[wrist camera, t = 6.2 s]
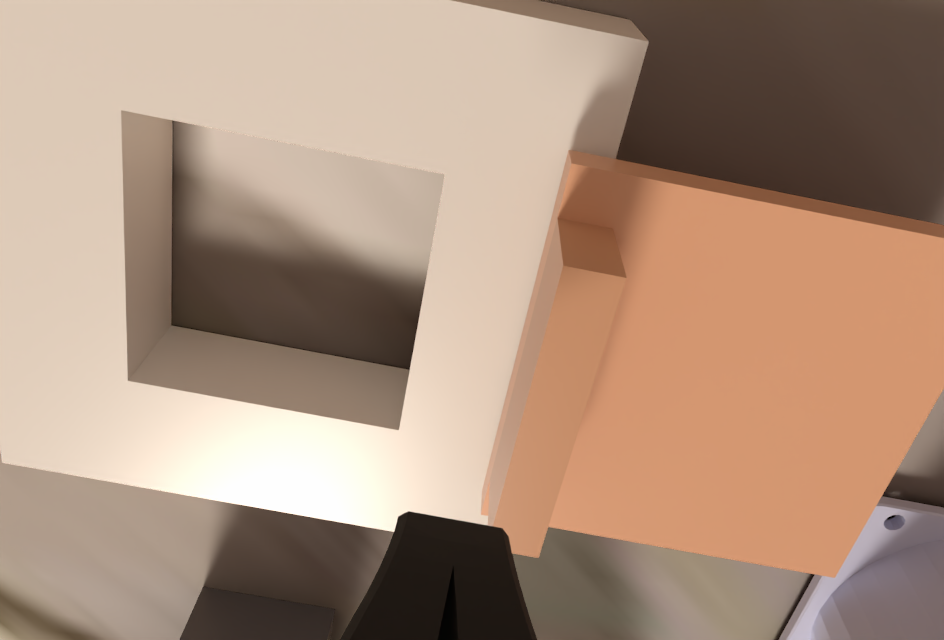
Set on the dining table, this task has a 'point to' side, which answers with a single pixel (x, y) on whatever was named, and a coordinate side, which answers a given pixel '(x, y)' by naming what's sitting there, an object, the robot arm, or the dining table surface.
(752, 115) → the dining table surface
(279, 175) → the dining table surface
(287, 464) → the socket
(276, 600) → the grey block
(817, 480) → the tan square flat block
